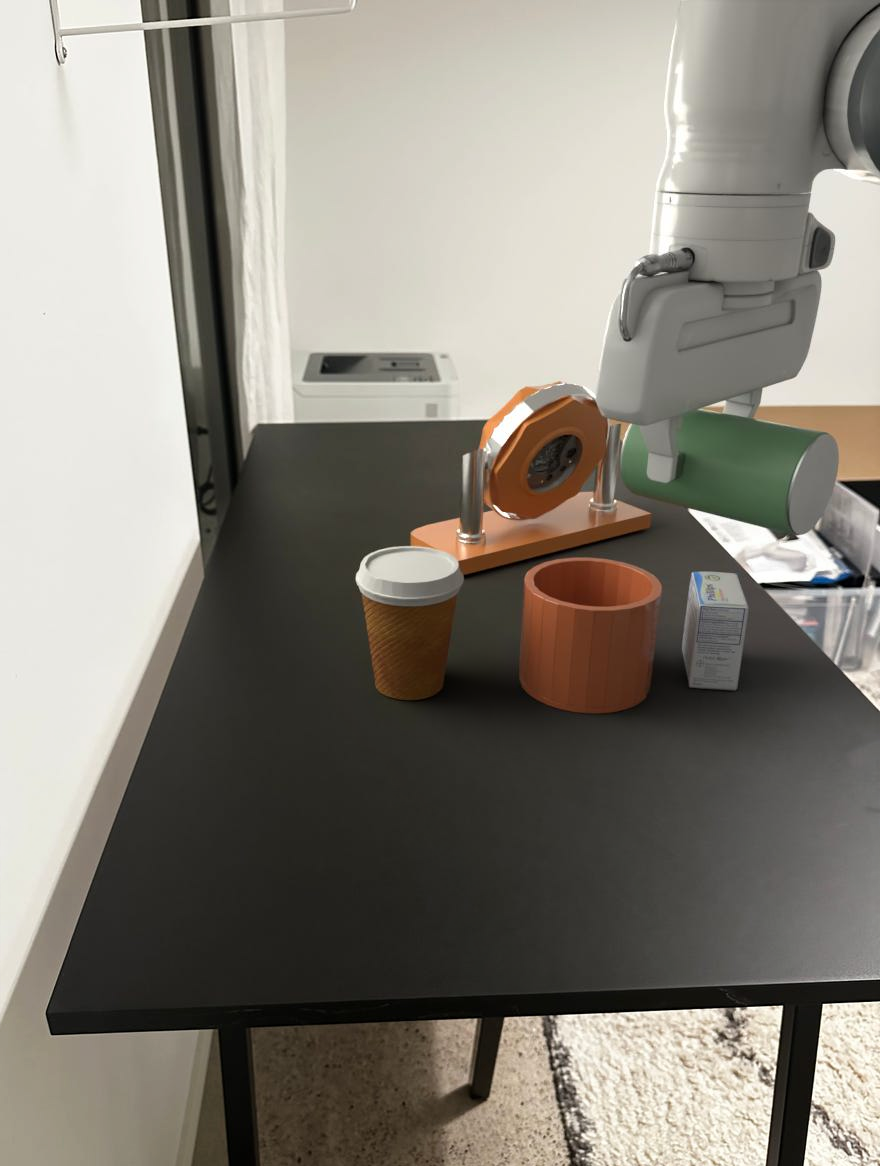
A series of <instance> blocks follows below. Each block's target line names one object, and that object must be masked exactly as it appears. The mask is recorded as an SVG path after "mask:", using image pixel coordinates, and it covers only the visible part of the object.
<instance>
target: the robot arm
mask: <svg viewBox="0 0 880 1166" xmlns="http://www.w3.org/2000/svg"><path fill="white" fill-rule="evenodd" d="M676 13H677V14H676V17H675V23H674V29H673V35H672V41H671V48H670V54H669V62H668V69H667V78H666V86H665V95H664V96H665V97H664V106H663V107H664V108H663V111H664V119H665V124H666V130H667V133H666V134H667V143H666V153H665V157H664V161H663V164H662V167H661V169H660V173H659V175H658V178H657V181H656V186H655V195H654V196H655V198H654V204H653V205H654V206H653V215H652V226H651V236H650V238H651V239H650V245H649V246H650V247H649V253H648V254H644V255H642V256H641V257H640V258H638V259H637V260H636V262H635V266H634V267H633V268H632V269H631V271H630V272H629V274H628V276H627V277H626V278H624V279H623V280H622V283H621V285H620V290H619V292H618V293H617V294H616V296H615V298H614V300H613V301H612V304H611V307H610V309H609V313H608V317H607V319H606V320H607V321H606V326H605V330H604V331H605V332H604V334H603V335H604V336H603V341H602V346H601V352H600V358H599V365H598V370H597V376H596V377H597V378H596V386H595V396H596V403H597V406H598V408H599V410H600V413H601V415H602V416H603V417H605V418H608V419H609V420H613V421H616V422H619V423H620V422H621V423H625V424H629V425H630V424H635V425H640V429H641V432H642V435H643V438H644V441H645V444H646V447H647V450H648V452H649V456H648V466H647V475H648V477H649V478H650V479H651V480H653V481H657V482H661V483H669V482H671V481H674V480H676V479H678V478H680V477H681V476H682V474H683V465H684V463H685V454H686V453H684V452H680V451H679V449H678V442H677V435H676V431H678V430H681V428H682V421H683V414H684V413H688V412H691V411H694V410H697V409H704V408H706V407H709V406H712V405H715V404H718V403H721V402H724V401H725V404H724V407H723V410H722V413H725V414H731V415H736V416H742V417H747V418H752V419H754V417H755V415H756V413H757V411H758V409H759V407H760V405H761V401H762V394H763V389H764V388H767V387H770V386H773V385H776V384H779V383H783V382H786V381H789V380H792V379H794V378H797V376H798V375H799V373H800V371H801V370H802V368H803V366H804V364H805V362H806V360H807V358H808V355H809V351H810V347H811V343H812V339H813V335H814V330H815V326H816V322H817V318H818V317H817V316H818V311H819V306H820V301H821V295H822V287H823V286H822V283H823V282H822V276H821V273H820V272H819V271H820V270H826V269H827V268H828V267H829V266H830V265H831V264H832V261H833V257H834V253H835V246H836V235H835V233H834V232H833V231H832V230H831V229H829V228H828V227H826V226H825V225H824V224H823V223H821V222H820V221H819V220H818V219H817V218H816V217H815V215H814V214H813V213H812V212H810V211H809V208H810V203H811V197H812V193H811V192H812V189H813V185H814V184H813V183H814V180H815V179H816V177H817V176H818V175H819V174H820V173H821V172H824V171H825V170H834V171H836V172H838V173H841V174H843V175H844V176H847V177H849V178H851V179H854V180H856V181H861V182H865V183H869V184H873V185H877V186H880V0H679V3H678V8H677V12H676Z"/></svg>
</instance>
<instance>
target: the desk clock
mask: <svg viewBox="0 0 880 1166" xmlns="http://www.w3.org/2000/svg"><path fill="white" fill-rule="evenodd" d="M622 425H623V424H622V423H615V424H613V425H611V422H610V419H608V418H605V417H603V416H602V415H601V413H600V410H599V408H598V406H597V403H596V394H594V393H593V392H592V391H591V390H590V389H588V388H587V387H586V386H583V385H580V384H577V383H569V382H563V381H556V382H552V383H548V384H543V385H533V386H532V385H529V386H528V385H526V386H524V387H523V388H521V389H519V390H518V391H517V392H516V393H515V394H514V396H512V398H511V399H510V400H509V401H508V402H507V403H506V404H505V405H504V406H502V408H501V409H499V410H498V411H497V412H496V413H495V414H494V415H492V417H490V418H489V419H487V421H486V423H485V424H484V426H483V428H482V431H481V438H480V443H479V446H478V448H477V450H473V451H469V452H467V453H466V454H463V455H462V456H461V462H460V463H461V465H460V467H461V468H460V498H459V517H457V518H452V519H448V520H443V521H438V522H435V523H430V524H426V525H423V526H421V527H417V528H414V529H413V530H412V531H410V546H419V547H428V548H433V549H437V550H441V551H444V552H446V553H449V554H450V555H452V556H453V557H455V558H456V559H457V561H458V564H459V568H460V571H461V572H462V574H463V576H464V575H465V576H466V575H469V574H472V573H476V572H480V571H485V570H488V569H493V568H496V567H500V566H504V565H508V564H512V563H515V562H519V561H520V562H521V561H524V560H528V559H531V558H535V557H536V558H537V557H539V556H544V555H547V554H552V553H555V552H560V551H563V550H566V549H571V548H575V547H579V546H583V545H586V544H590V543H595V542H598V541H603V540H606V539H610V538H615V537H618V536H623V535H626V534H630V533H633V532H637V531H638V532H639V531H641V530H646V529H650V528H651V522H652V521H651V520H652V513H651V512H649V511H646V510H644V509H641V508H638V507H637V506H633V505H631V504H628V503H626V502H623V501H621V500H618V499H616V498H615V497H616V489H617V488H616V487H617V476H618V468H619V467H618V465H619V458H620V457H619V456H620V446H621V435H622ZM593 473H594V480H593V483H594V484H593V491H581V489H582V488H583V486H584V484H585V483H586V482H587V481H588V479H589V478H590V477H591V475H592V474H593ZM484 504H485V505H486V506H487V507H489V508H490V509H491V510H488V511H484Z"/></svg>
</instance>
